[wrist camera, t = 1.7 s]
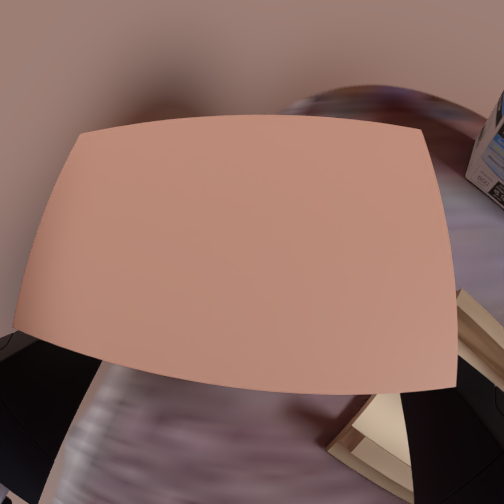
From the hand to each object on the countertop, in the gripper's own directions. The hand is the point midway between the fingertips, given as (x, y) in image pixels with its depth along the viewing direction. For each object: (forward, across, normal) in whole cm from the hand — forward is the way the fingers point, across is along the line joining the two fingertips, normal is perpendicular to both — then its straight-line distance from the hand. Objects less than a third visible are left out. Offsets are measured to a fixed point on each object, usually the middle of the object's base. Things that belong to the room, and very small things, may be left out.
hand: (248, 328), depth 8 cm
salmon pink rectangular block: (+7, 0, +6) cm, 9 cm away
